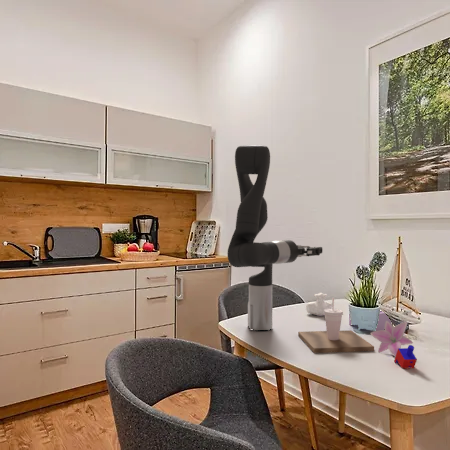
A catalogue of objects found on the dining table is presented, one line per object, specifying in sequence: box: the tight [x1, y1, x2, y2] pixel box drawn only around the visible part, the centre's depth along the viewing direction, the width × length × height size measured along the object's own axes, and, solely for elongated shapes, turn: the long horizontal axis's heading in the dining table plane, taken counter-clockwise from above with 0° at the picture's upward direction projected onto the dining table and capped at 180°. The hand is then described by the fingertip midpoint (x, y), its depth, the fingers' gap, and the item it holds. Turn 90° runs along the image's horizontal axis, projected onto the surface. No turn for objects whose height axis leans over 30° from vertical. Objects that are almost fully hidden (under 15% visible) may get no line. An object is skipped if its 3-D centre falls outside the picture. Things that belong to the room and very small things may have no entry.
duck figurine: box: [305, 292, 332, 317], centre depth 170 cm, size 12×8×11 cm
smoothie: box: [324, 297, 344, 340], centre depth 132 cm, size 6×6×14 cm
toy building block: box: [393, 344, 418, 369], centre depth 111 cm, size 4×4×8 cm
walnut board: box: [297, 329, 375, 354], centre depth 132 cm, size 20×18×2 cm
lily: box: [370, 321, 414, 358], centre depth 123 cm, size 12×12×10 cm
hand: (311, 249), depth 136 cm, fingers open, 8 cm apart
